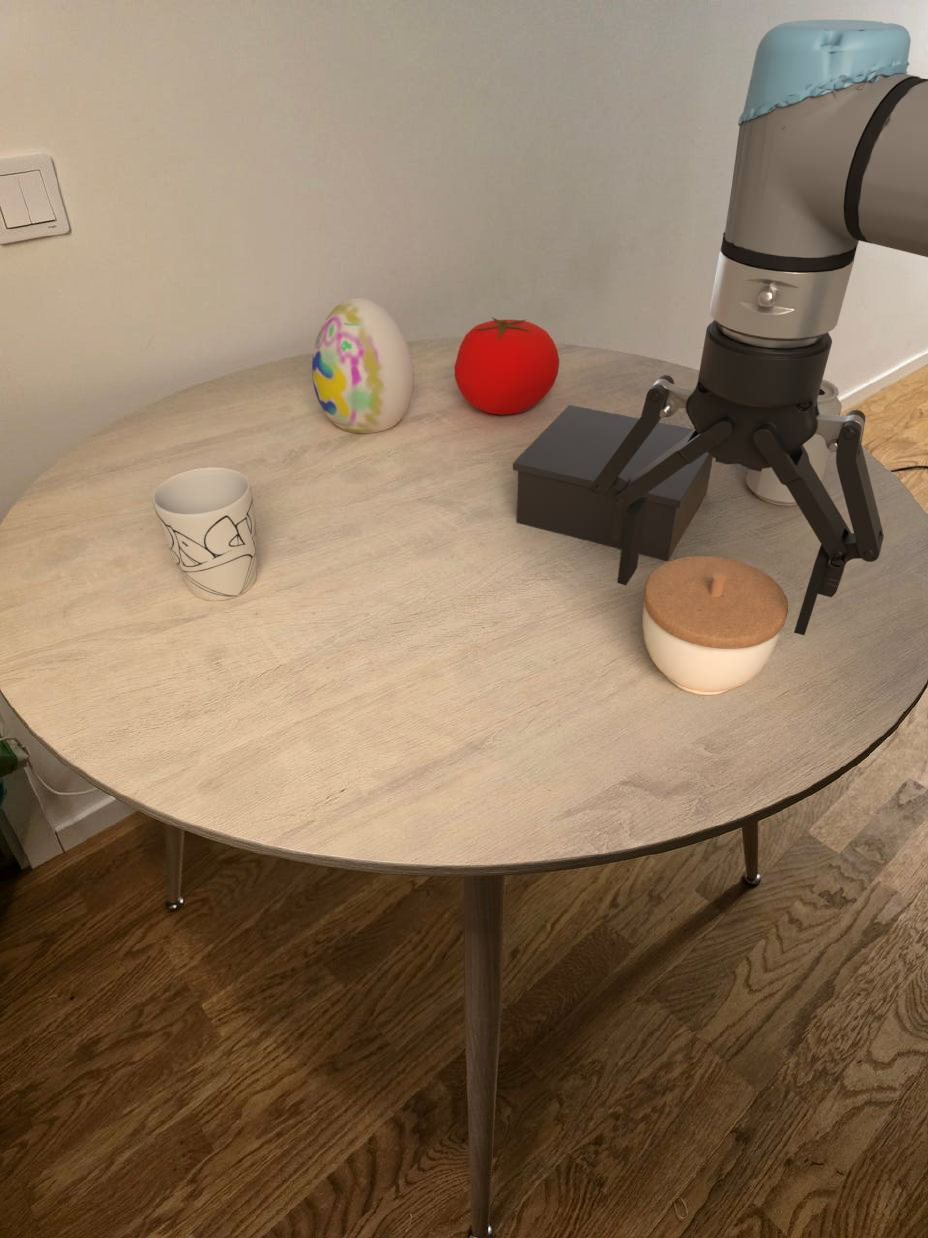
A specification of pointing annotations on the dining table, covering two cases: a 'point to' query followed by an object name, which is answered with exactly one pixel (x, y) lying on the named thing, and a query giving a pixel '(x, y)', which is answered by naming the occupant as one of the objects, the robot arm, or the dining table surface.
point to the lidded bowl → (711, 622)
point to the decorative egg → (362, 368)
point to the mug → (210, 530)
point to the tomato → (506, 366)
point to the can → (768, 482)
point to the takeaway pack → (575, 458)
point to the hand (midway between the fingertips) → (711, 599)
